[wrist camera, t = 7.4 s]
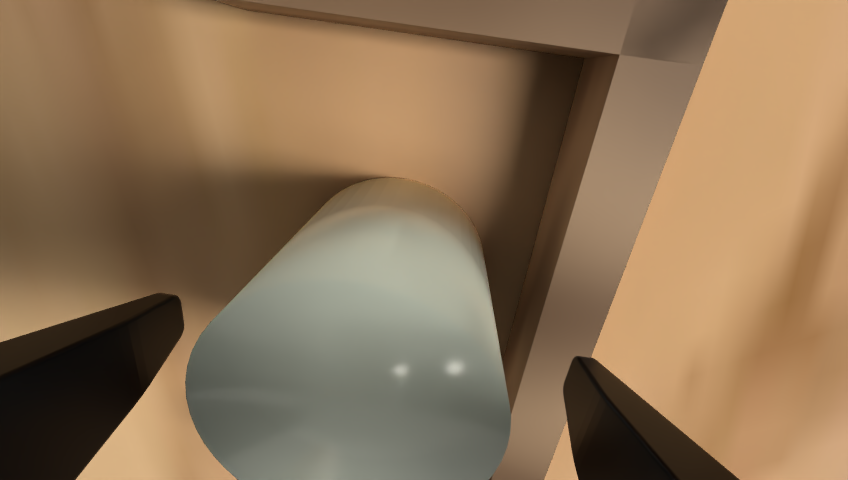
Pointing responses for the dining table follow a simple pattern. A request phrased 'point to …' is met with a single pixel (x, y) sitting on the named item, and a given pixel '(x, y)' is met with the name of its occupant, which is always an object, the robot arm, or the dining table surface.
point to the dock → (568, 165)
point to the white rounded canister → (359, 349)
